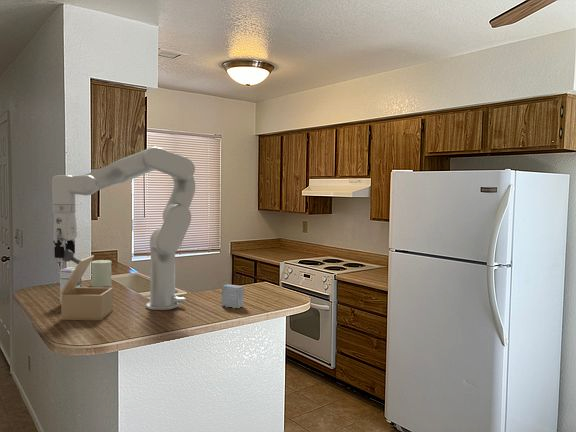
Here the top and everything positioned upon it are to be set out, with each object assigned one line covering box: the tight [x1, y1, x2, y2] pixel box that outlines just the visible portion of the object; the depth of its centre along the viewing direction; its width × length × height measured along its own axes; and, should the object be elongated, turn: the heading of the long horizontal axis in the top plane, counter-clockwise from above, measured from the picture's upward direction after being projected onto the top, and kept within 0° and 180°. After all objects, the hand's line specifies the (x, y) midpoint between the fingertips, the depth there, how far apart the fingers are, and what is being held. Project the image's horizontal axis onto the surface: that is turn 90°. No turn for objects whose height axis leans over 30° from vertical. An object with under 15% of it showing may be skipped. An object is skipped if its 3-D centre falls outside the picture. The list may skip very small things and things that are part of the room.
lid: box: [59, 249, 95, 295], centre depth 175 cm, size 14×13×9 cm
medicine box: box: [221, 283, 245, 309], centre depth 194 cm, size 8×4×9 cm, turn 65°
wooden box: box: [60, 286, 114, 321], centre depth 176 cm, size 14×13×9 cm
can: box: [90, 259, 113, 288], centre depth 228 cm, size 9×9×12 cm
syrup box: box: [59, 266, 82, 304], centre depth 191 cm, size 6×6×14 cm
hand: (65, 255), depth 175 cm, fingers open, 9 cm apart
